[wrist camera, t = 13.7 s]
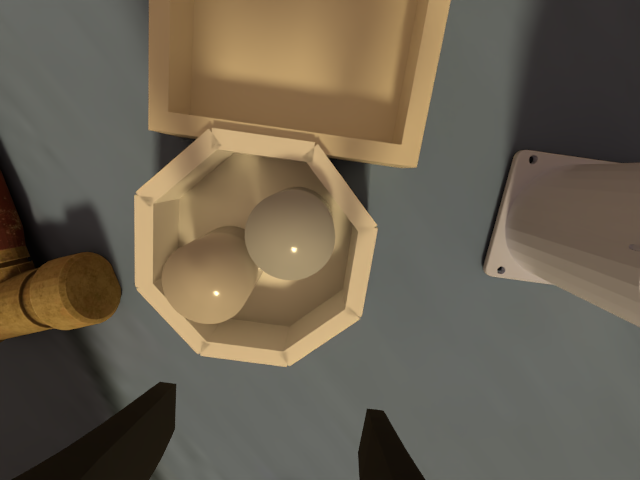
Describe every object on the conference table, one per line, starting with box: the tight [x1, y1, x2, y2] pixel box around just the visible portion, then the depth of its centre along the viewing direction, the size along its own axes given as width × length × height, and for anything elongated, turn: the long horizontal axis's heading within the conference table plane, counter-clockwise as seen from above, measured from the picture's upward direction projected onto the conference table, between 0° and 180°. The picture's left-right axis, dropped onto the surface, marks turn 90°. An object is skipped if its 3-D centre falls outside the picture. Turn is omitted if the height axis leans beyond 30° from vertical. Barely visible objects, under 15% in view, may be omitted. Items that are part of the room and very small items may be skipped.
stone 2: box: [245, 187, 335, 280], centre depth 17 cm, size 4×4×4 cm
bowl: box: [134, 128, 378, 367], centre depth 18 cm, size 13×13×4 cm
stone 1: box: [162, 226, 263, 324], centre depth 17 cm, size 4×4×4 cm
